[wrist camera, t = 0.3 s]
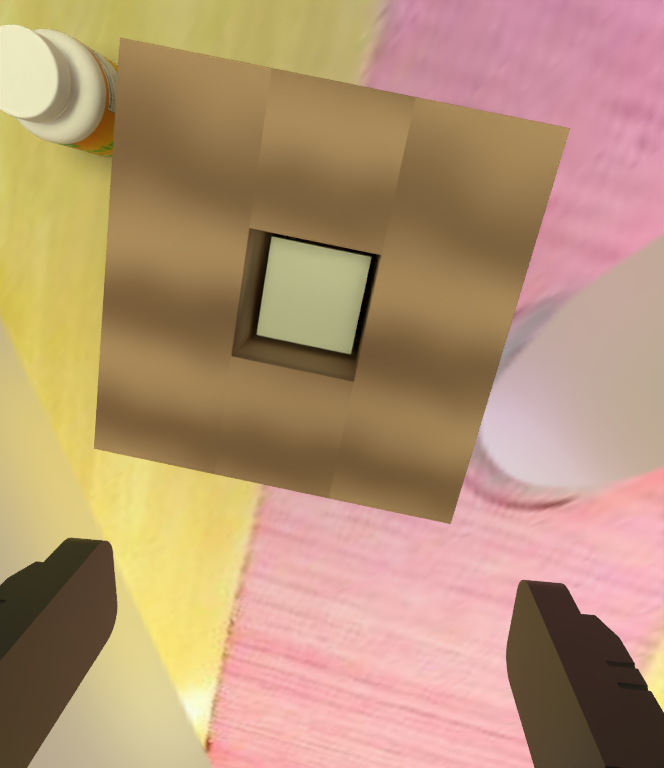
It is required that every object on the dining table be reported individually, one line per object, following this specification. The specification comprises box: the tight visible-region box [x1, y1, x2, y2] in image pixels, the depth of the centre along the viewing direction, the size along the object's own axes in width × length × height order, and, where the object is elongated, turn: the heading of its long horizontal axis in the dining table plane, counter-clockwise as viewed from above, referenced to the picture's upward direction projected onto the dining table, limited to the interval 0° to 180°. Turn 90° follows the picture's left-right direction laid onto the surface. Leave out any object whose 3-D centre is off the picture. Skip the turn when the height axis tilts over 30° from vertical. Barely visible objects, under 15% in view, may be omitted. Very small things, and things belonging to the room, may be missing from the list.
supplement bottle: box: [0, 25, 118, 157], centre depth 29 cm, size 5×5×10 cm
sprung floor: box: [256, 236, 371, 354], centre depth 30 cm, size 6×6×1 cm
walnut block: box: [94, 38, 570, 524], centre depth 31 cm, size 20×20×11 cm
